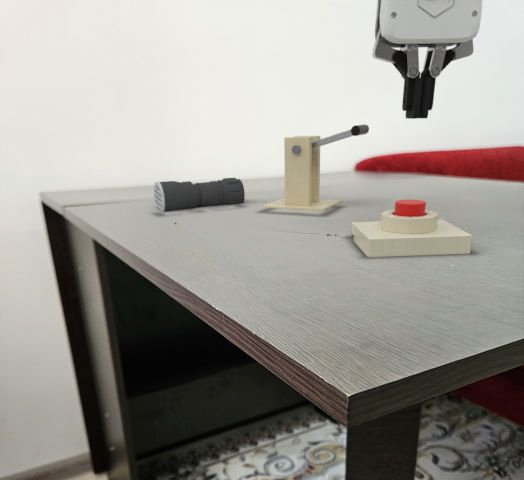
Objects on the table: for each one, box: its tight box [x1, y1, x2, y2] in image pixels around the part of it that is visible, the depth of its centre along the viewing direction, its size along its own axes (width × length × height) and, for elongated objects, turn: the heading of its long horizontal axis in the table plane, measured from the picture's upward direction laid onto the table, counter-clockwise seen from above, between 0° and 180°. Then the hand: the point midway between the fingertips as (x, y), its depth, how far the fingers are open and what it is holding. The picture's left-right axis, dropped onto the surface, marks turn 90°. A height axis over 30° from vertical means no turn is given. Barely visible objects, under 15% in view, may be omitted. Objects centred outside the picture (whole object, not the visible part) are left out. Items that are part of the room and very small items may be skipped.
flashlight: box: [153, 177, 245, 213], centre depth 91 cm, size 15×5×5 cm, turn 115°
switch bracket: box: [261, 135, 342, 212], centre depth 88 cm, size 11×9×12 cm
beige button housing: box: [350, 208, 473, 258], centre depth 64 cm, size 12×10×4 cm
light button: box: [394, 199, 427, 217], centre depth 63 cm, size 4×4×2 cm
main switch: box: [312, 123, 370, 154], centre depth 84 cm, size 12×5×2 cm, turn 64°
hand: (416, 117), depth 59 cm, fingers closed
